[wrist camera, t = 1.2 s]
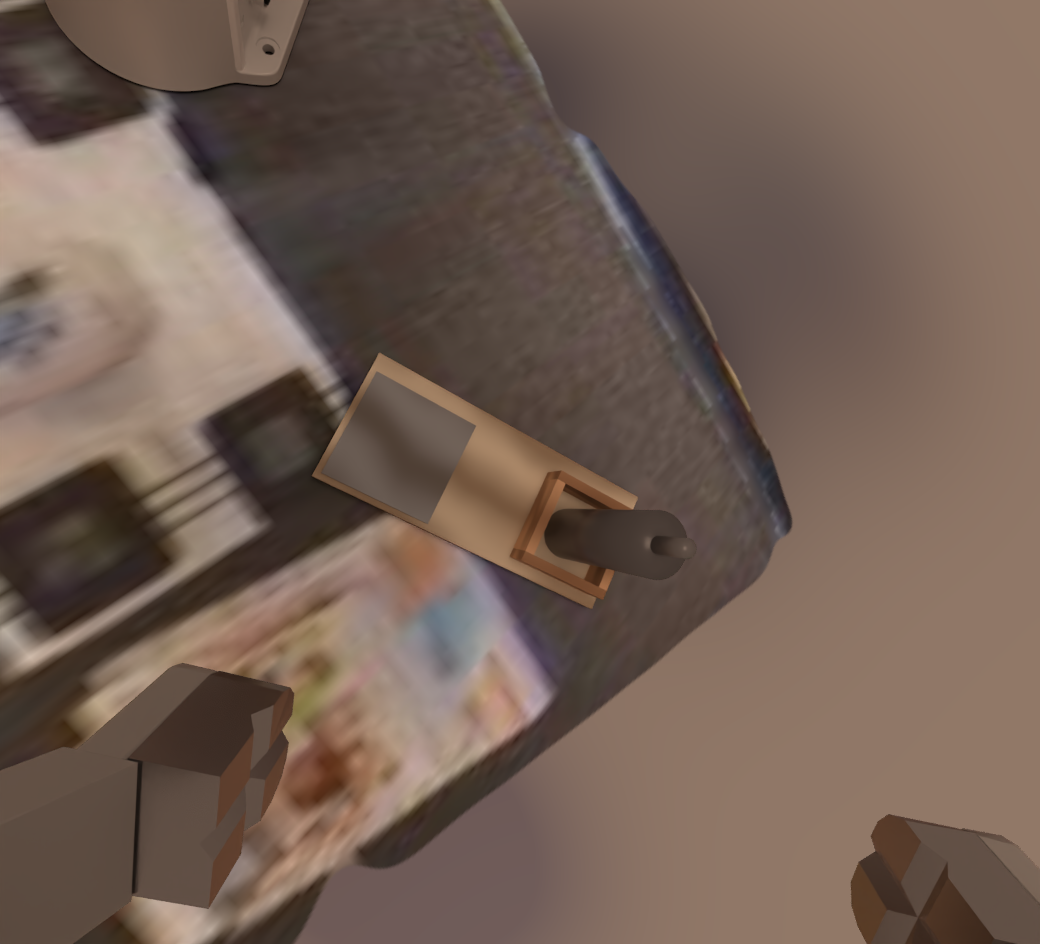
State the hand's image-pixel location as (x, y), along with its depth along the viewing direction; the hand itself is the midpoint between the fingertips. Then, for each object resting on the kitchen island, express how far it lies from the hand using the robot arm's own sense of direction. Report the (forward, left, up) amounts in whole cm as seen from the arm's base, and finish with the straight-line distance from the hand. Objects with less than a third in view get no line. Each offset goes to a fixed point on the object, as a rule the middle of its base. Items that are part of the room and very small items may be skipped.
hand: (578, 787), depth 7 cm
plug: (-8, +14, -37) cm, 40 cm away
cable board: (-9, +6, -39) cm, 40 cm away
